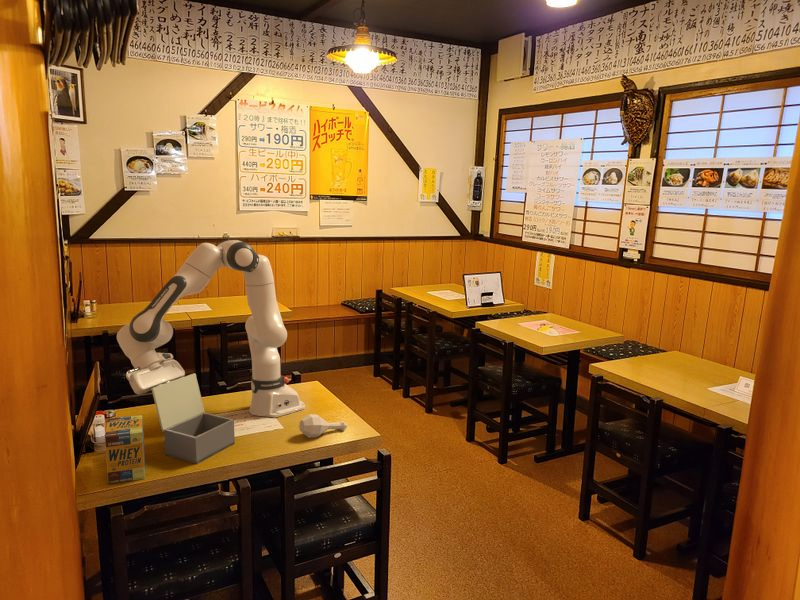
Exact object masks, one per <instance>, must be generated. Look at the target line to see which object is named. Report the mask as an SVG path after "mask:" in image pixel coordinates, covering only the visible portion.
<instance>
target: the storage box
mask: <svg viewBox="0 0 800 600" xmlns="http://www.w3.org/2000/svg"><path fill="white" fill-rule="evenodd" d="M163 434H164V449H165V450H164V452H165V456H167V455H168V457H171V458H173V459H178V460H182V461H185V462H188V463H192V464H195V465H198V464H200V463H201V462H203V461H205V460H207V459H209V458H210V457H213V456H214V455H216V454H218V453H220V452H222V451H224V450H226V449H228V448H230V447H232V446H233V445H235V443H236V442H235V441H236V440H235V438H236V437H235V419H234V418H233V419H232V418H229V417H225V416H221V415H216V414H213V413H208V412H203V413H201V414H198V415H196V416H194V417H191V418H189V419H188V420H185V421H183V422H181V423H179V424H176V425H174V426H172V427H169V428H167V429H165V430H164V433H163Z"/></svg>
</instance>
